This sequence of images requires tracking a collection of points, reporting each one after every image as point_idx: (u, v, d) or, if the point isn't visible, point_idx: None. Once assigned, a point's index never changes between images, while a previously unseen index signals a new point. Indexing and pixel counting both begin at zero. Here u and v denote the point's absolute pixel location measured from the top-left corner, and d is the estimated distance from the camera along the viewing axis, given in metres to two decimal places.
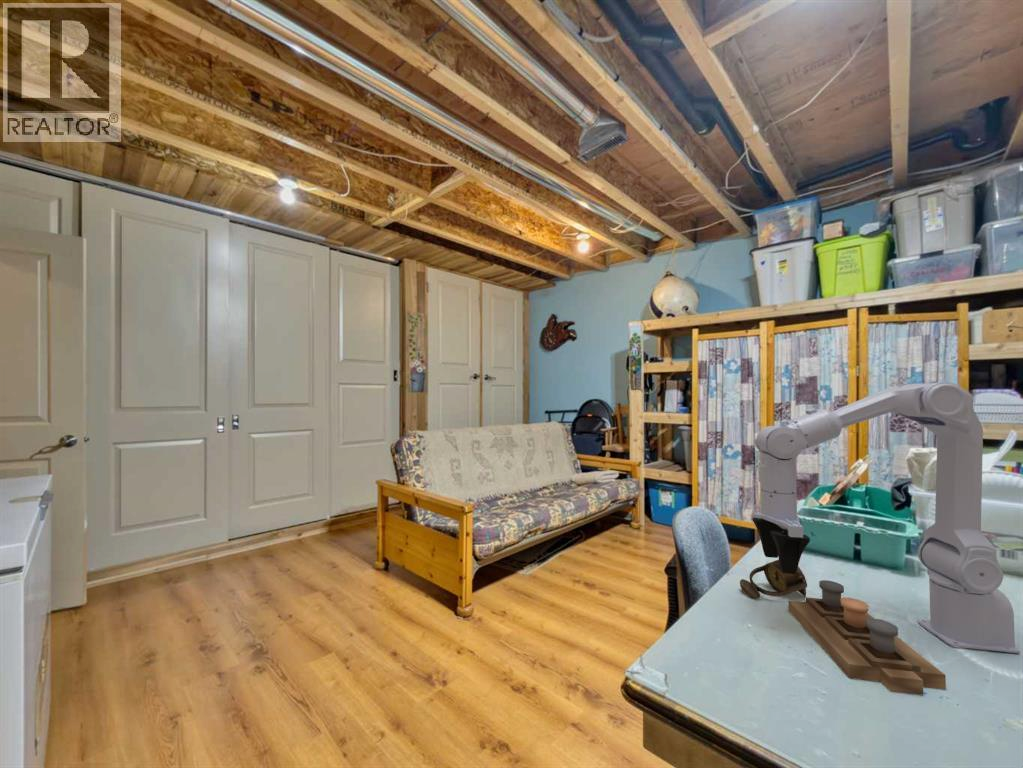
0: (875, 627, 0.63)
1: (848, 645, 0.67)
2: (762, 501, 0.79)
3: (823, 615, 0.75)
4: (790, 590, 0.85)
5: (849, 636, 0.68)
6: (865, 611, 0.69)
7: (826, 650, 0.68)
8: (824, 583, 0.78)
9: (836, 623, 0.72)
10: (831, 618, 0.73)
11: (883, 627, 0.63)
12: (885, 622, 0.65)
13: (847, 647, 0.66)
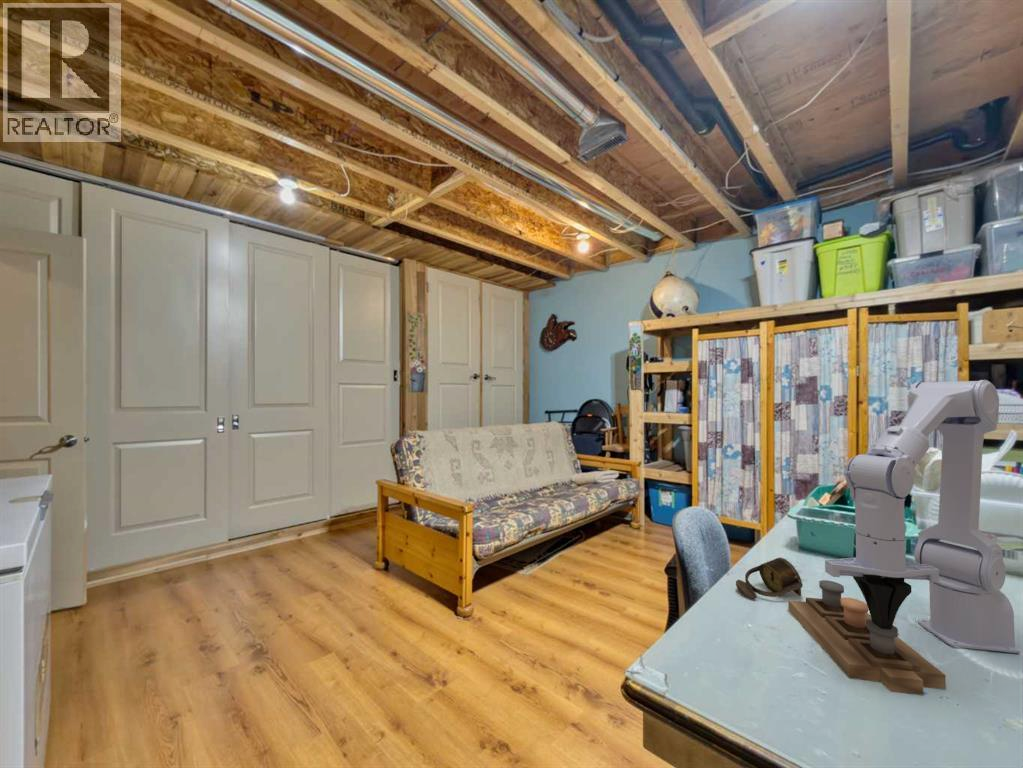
0: (875, 628, 0.63)
1: (848, 645, 0.67)
2: None
3: (823, 615, 0.75)
4: (786, 590, 0.85)
5: (849, 636, 0.68)
6: (865, 611, 0.69)
7: (826, 650, 0.68)
8: (824, 583, 0.78)
9: (836, 623, 0.72)
10: (831, 618, 0.73)
11: None
12: None
13: (847, 647, 0.66)
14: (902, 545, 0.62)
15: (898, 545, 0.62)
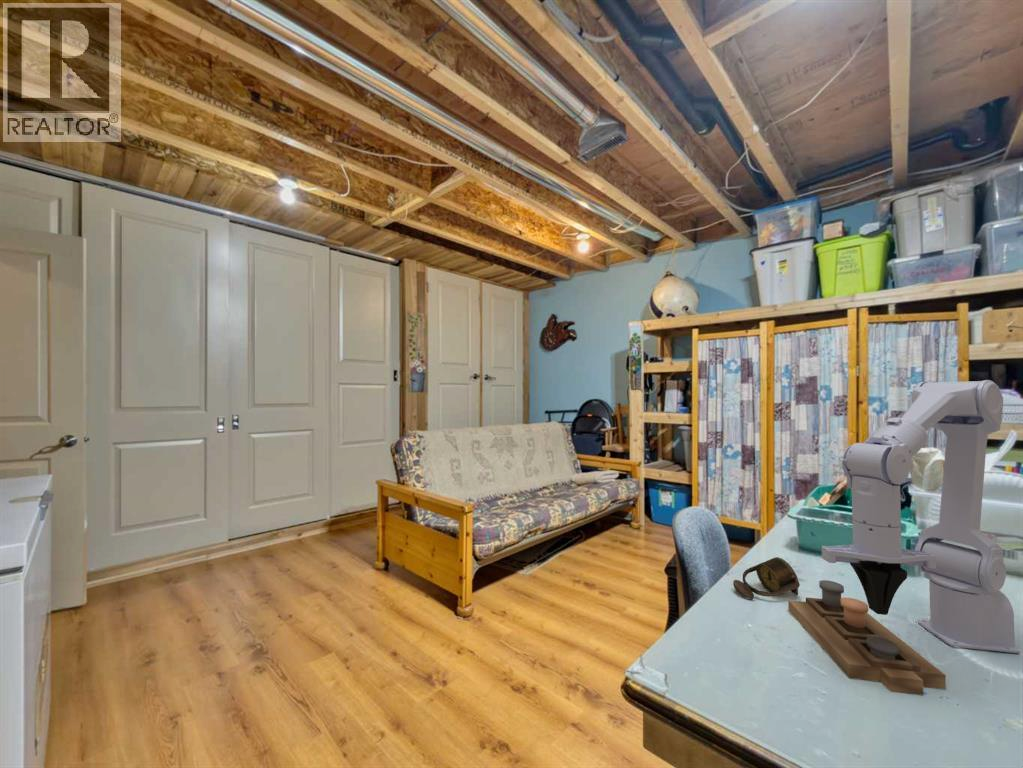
0: (875, 645, 0.63)
1: (848, 645, 0.67)
2: None
3: (823, 615, 0.75)
4: (783, 590, 0.85)
5: (849, 636, 0.68)
6: (865, 611, 0.69)
7: (826, 650, 0.68)
8: (824, 583, 0.78)
9: (836, 623, 0.72)
10: (831, 618, 0.73)
11: (884, 645, 0.63)
12: (885, 640, 0.65)
13: (847, 647, 0.66)
14: (898, 531, 0.63)
15: (893, 531, 0.63)
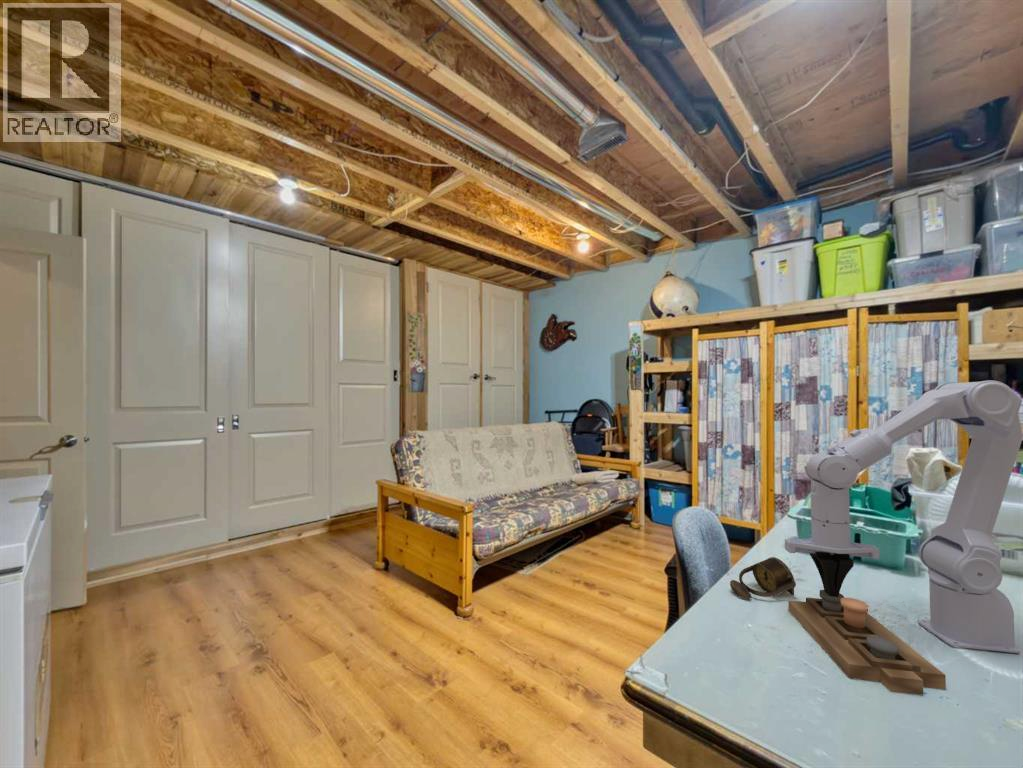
0: (875, 645, 0.63)
1: (848, 645, 0.67)
2: None
3: (823, 615, 0.75)
4: (780, 590, 0.85)
5: (849, 636, 0.68)
6: (865, 611, 0.69)
7: (826, 650, 0.68)
8: (824, 593, 0.78)
9: (836, 623, 0.72)
10: (831, 618, 0.73)
11: (884, 645, 0.63)
12: (885, 640, 0.65)
13: (847, 647, 0.66)
14: (846, 527, 0.75)
15: (842, 527, 0.75)
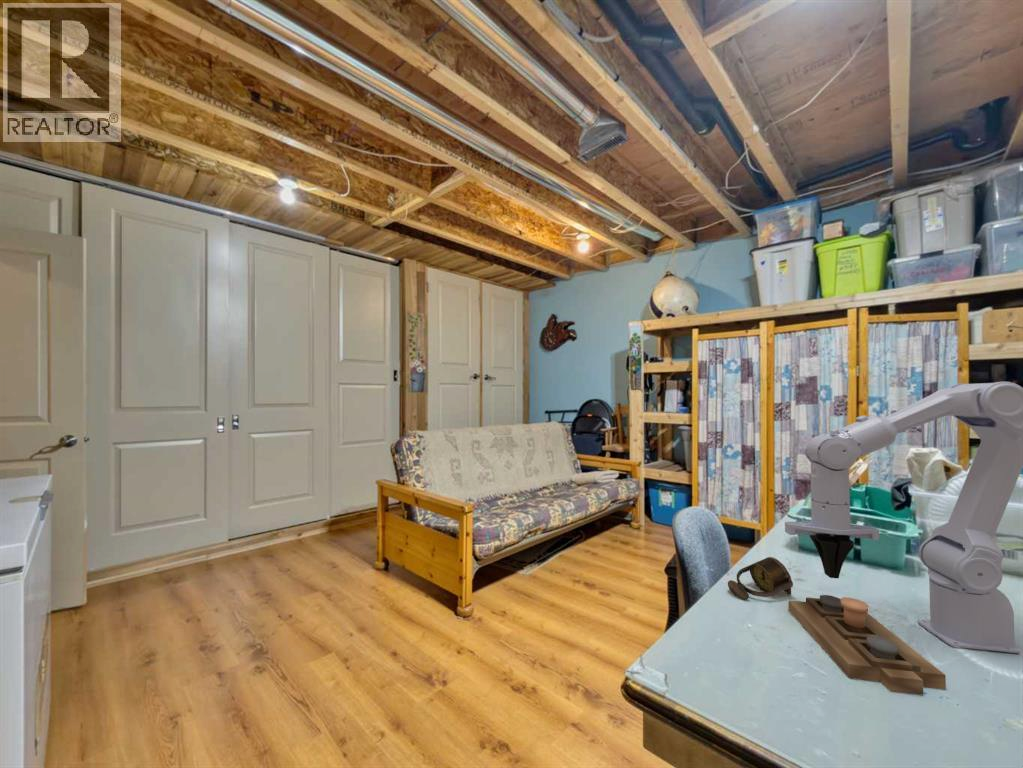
0: (875, 645, 0.63)
1: (848, 645, 0.67)
2: None
3: (823, 615, 0.75)
4: (777, 590, 0.86)
5: (849, 636, 0.68)
6: (865, 611, 0.69)
7: (826, 650, 0.68)
8: (824, 598, 0.78)
9: (836, 623, 0.72)
10: (831, 618, 0.73)
11: (884, 645, 0.63)
12: (885, 640, 0.65)
13: (847, 647, 0.66)
14: (846, 508, 0.75)
15: (842, 508, 0.75)
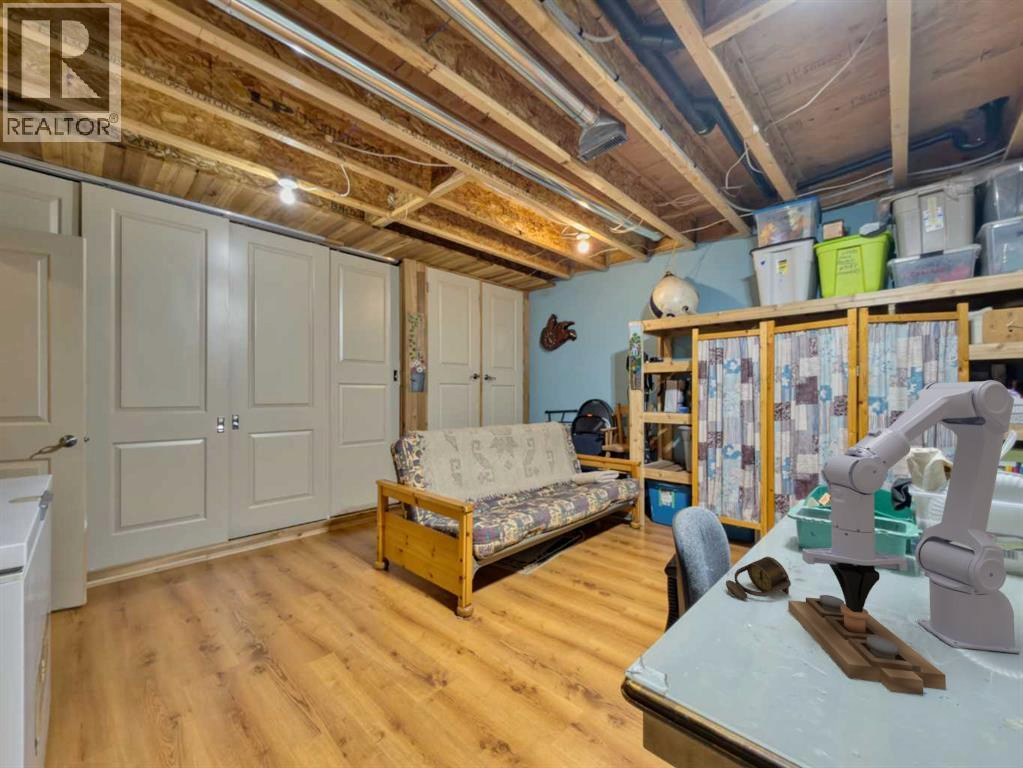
0: (875, 645, 0.63)
1: (848, 645, 0.67)
2: None
3: (823, 615, 0.75)
4: (775, 589, 0.86)
5: (849, 636, 0.68)
6: (865, 618, 0.69)
7: (826, 650, 0.68)
8: (824, 598, 0.78)
9: (836, 623, 0.72)
10: (831, 618, 0.73)
11: (884, 645, 0.63)
12: (885, 640, 0.65)
13: (847, 647, 0.66)
14: (871, 536, 0.69)
15: (867, 536, 0.69)
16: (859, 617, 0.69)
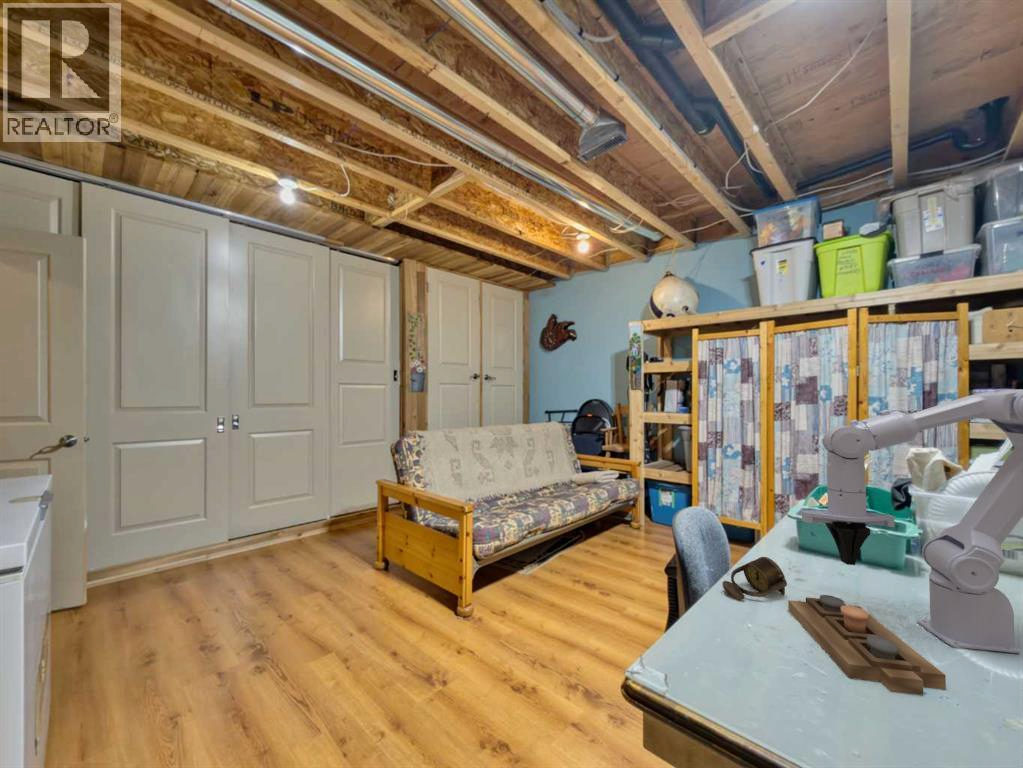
0: (875, 645, 0.63)
1: (848, 645, 0.67)
2: None
3: (823, 615, 0.75)
4: (772, 590, 0.86)
5: (849, 636, 0.68)
6: (865, 619, 0.69)
7: (826, 650, 0.68)
8: (824, 598, 0.78)
9: (836, 623, 0.72)
10: (831, 618, 0.73)
11: (884, 645, 0.63)
12: (885, 640, 0.65)
13: (847, 647, 0.66)
14: (862, 496, 0.77)
15: (859, 496, 0.77)
16: (859, 618, 0.69)
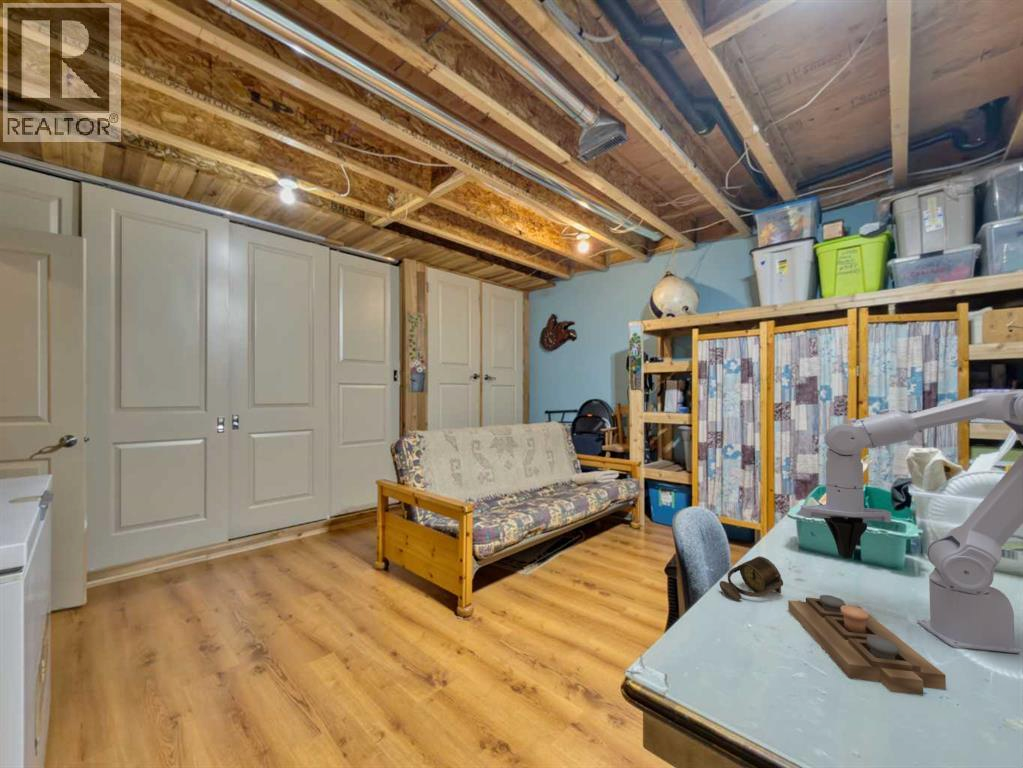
0: (875, 645, 0.63)
1: (848, 645, 0.67)
2: None
3: (823, 615, 0.75)
4: (769, 589, 0.86)
5: (849, 636, 0.68)
6: (865, 619, 0.69)
7: (826, 650, 0.68)
8: (824, 598, 0.78)
9: (836, 623, 0.72)
10: (831, 618, 0.73)
11: (884, 645, 0.63)
12: (885, 640, 0.65)
13: (847, 647, 0.66)
14: (860, 492, 0.80)
15: (856, 492, 0.79)
16: (859, 618, 0.69)
